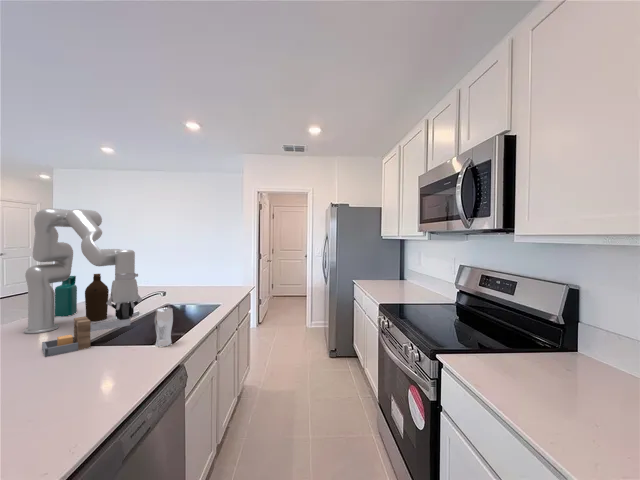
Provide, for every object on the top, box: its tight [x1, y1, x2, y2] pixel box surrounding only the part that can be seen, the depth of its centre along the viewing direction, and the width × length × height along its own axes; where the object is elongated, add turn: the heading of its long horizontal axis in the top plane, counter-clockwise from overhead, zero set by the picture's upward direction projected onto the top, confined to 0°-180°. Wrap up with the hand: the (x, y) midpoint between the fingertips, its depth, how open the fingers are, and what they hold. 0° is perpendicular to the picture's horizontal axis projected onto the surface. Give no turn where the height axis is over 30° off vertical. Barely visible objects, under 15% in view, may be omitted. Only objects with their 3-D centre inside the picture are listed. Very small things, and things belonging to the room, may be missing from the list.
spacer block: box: [56, 334, 74, 346], centre depth 124 cm, size 4×4×4 cm
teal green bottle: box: [54, 275, 78, 317], centre depth 178 cm, size 10×8×22 cm
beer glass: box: [154, 307, 174, 347], centre depth 131 cm, size 7×7×15 cm
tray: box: [41, 336, 79, 358], centre depth 123 cm, size 11×10×3 cm
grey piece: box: [90, 302, 132, 333], centre depth 134 cm, size 4×19×10 cm, turn 137°
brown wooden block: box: [73, 315, 92, 351], centre depth 128 cm, size 10×4×11 cm, turn 47°
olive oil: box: [84, 273, 110, 322], centre depth 169 cm, size 11×11×25 cm
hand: (124, 316), depth 140 cm, fingers closed on grey piece, 4 cm apart
